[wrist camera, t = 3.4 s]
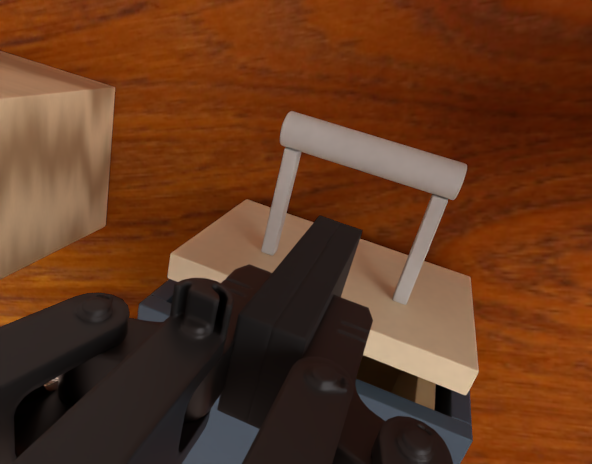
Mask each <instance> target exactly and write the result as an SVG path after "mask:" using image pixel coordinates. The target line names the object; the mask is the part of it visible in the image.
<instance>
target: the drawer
mask: <svg viewBox="0 0 592 464" xmlns="http://www.w3.org/2000/svg"><path fill="white" fill-rule="evenodd" d="M280 144H281V145H282V146H285V147H286V148H285V149H284V153H283V158H282V162H281V166H280V171H279V175H278V179H277V184H276V188H275V192H274V197H273V201H272V205H271V207H268V206H265V205H262V204H259V203H256V202H253V201H251V200H248V199H246V200H244V201H243V202H242V203H240V204H239V205H237V206H236V207H235V208H233V209H232V210H230V211H229V212H228V213H226V214H225V215H223V216H222V217H221V218H219V219H218V220H216V221H215V222H214V223H212V224H211V225H209V226H208V227H207V228H205V229H204V230H202V231H201V232H200V233H198V234H197V235H196V236H194V237H193V238H191V239H190V240H189V241H187V242H186V243H184V244H183V245H182V246H180V247H179V248H177V249H176V250H175V251H173V252H172V253H171V254H170V261H169V268H168V275H167V278H169V279H172V280H174V281H177V282H179V281H181V280H184V279H189V278H207V279H210V280H214V281H217V282H219V283H222V282H223V281H224V280H226V278H227V277H228V276H229V275H230V274H231V273H232V272H233V271H234V270H235V269H237V268H240V267H243V266H245V265H248V264H250V265H253V266H255V267H258V268H261V269H263V270H266V271H269V272H271V273H273V271H274V270H275V269H276V268H277V267H278V265H279V264H280V263H281V262H282V261H283V259H284V258H285V257H286V256H287V254H288V253H289V252H290V251H291V250H292V248H293V247H294V246H295V245H296V244H297V242H298V241H299V240H300V239H301V237H302V236H303V235H304V234H305V233H306V231H307V230H308V229H309V228H310V227H311V225H312V224H313V223H314V222H311V221H308V220H305V219H302V218H299V217H297V216H294V215H291V214H288V213H287V209H288V205H289V201H290V197H291V193H292V188H293V184H294V180H295V176H296V172H297V168H298V164H299V160H300V156H301V152H304V153H307V154H310V155H313V156H316V157H319V158H322V159H325V160H329V161H332V162H335V163H338V164H341V165H344V166H347V167H350V168H354V169H357V170H360V171H363V172H366V173H369V174H372V175H375V176H379V177H382V178H385V179H388V180H391V181H394V182H397V183H400V184H404V185H407V186H410V187H413V188H416V189H419V190H422V191H425V192H429V193H432V196H431V198H430V201H429V204H428V206H427V209H426V211H425V214H424V217H423V219H422V222H421V224H420V227H419V230H418V232H417V235H416V237H415V240H414V242H413V245H412V248H411V250H410V253H409V255H406V254H403V253H400V252H397V251H394V250H391V249H389V248H386V247H383V246H380V245H377V244H374V243H371V242H368V241H366V240H363V239H360V240H359V243H358V246H357V249H356V252H355V255H354V259H353V262H352V265H351V268H350V271H349V274H348V277H347V280H346V283H345V286H344V289H343V292H342V295H341V298H344V299H347V300H349V301H352V302H355V303H357V304H360V305H363V306H365V307H368V308H369V310H370V313H371V316H372V319H373V322H372V326H371V329H370V332H369V336H368V339H367V342H366V346H365V349H364V353H363V356H362V359H361V363H360V366H359V369H358V373H357V376H356V379H358V380H361V381H363V382H366V383H368V384H371V385H373V386H376V387H378V388H381V389H383V390H386V391H388V392H390V393H393V394H395V395H398V396H400V397H403V398H405V399H408V400H410V401H413V402H415V403H418V404H420V405H423V406H425V407H427V408H430V409H432V410H434V409H435V388H436V384H437V385H440V386H443V387H445V388H448V389H450V390H453V391H455V392H458V393H460V394H463V395H467V393H468V392H469V390H470V388H471V386H472V384H473V382H474V380H475V378H476V376H477V374H478V372H479V369H478V358H477V346H476V335H475V323H474V312H473V300H472V289H471V277H469V276H466V275H463V274H460V273H458V272H455V271H452V270H449V269H446V268H443V267H440V266H437V265H435V264H432V263H429V262H426V261H424V260H425V257H426V255H427V252H428V250H429V247H430V245H431V242H432V240H433V237H434V235H435V232H436V230H437V227H438V225H439V222H440V220H441V217H442V215H443V212H444V210H445V207H446V205H447V203H448V199H450V200H454V199H455V198H456V197H457V195H458V193H459V191H460V189H461V186H462V184H463V181H464V178H465V175H466V171H467V164H465V163H462V162H458V161H455V160H452V159H448V158H445V157H442V156H439V155H435V154H432V153H429V152H425V151H422V150H419V149H416V148H412V147H409V146H406V145H402V144H399V143H396V142H392V141H389V140H386V139H383V138H379V137H376V136H373V135H369V134H366V133H363V132H360V131H356V130H353V129H350V128H346V127H343V126H340V125H337V124H333V123H330V122H327V121H323V120H320V119H317V118H314V117H310V116H307V115H304V114H300V113H297V112H294V111H290V112H289V113H288V114H287V116H286V117H285V119H284V122H283V124H282V128H281V132H280Z"/></svg>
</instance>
